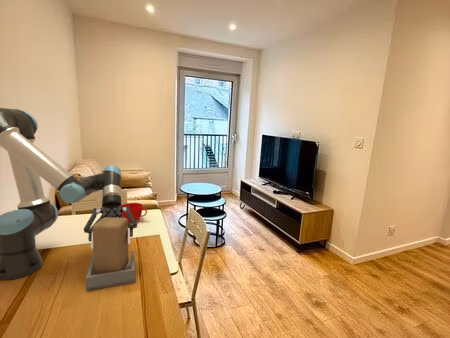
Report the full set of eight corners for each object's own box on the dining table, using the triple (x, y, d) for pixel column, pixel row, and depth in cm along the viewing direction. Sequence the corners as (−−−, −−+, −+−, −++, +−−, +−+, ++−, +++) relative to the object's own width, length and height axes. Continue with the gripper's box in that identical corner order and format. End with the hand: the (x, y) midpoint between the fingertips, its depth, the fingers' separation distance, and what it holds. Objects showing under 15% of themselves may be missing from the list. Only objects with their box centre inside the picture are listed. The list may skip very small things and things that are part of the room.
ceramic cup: (141, 226, 150) (141, 210, 148) (116, 223, 153) (115, 207, 151) (152, 219, 162) (151, 204, 161) (128, 216, 165) (128, 202, 164)
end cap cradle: (86, 290, 89) (86, 278, 89) (92, 267, 104) (91, 256, 104) (135, 282, 95) (135, 270, 95) (133, 261, 110) (133, 250, 110)
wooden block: (129, 262, 104) (128, 217, 101) (119, 276, 94) (118, 226, 91) (105, 262, 104) (103, 216, 101) (93, 276, 94) (91, 225, 91)
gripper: (141, 200, 115) (144, 246, 103) (81, 204, 106) (76, 254, 94) (141, 191, 109) (144, 239, 97) (78, 195, 100) (73, 247, 88)
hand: (111, 246), depth 96 cm, fingers closed on wooden block, 12 cm apart
